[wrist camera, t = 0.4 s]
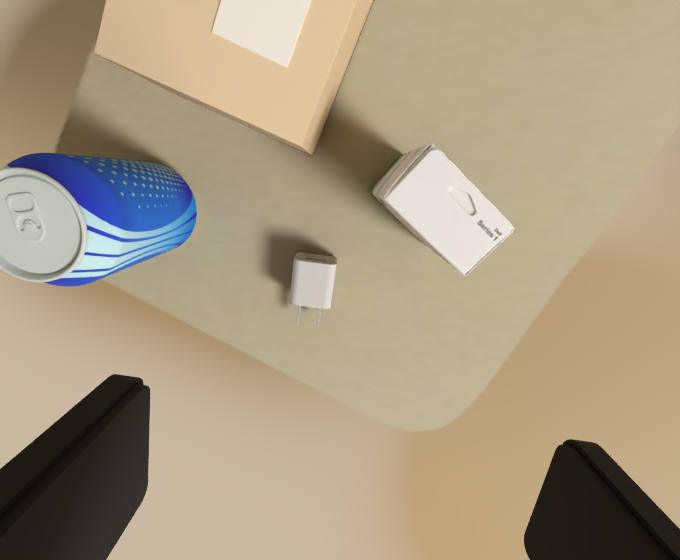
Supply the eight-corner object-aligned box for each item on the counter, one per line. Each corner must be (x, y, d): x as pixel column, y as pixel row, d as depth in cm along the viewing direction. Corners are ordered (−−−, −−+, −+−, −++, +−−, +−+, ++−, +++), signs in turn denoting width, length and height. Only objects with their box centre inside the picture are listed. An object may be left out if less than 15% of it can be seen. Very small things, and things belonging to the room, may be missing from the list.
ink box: (367, 191, 36) (379, 197, 25) (403, 152, 35) (432, 139, 24) (428, 249, 38) (466, 280, 26) (464, 213, 37) (520, 228, 25)
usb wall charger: (336, 256, 38) (336, 265, 34) (328, 319, 40) (327, 334, 36) (297, 251, 38) (292, 259, 34) (291, 315, 40) (285, 329, 36)
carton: (227, -108, 30) (173, -243, 20) (384, -27, 32) (402, -118, 22) (170, 91, 34) (103, 57, 24) (312, 155, 35) (301, 147, 26)
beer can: (216, 192, 36) (123, 202, 21) (180, 264, 38) (70, 321, 23) (136, 145, 35) (-24, 118, 20) (103, 221, 37) (-67, 251, 22)
